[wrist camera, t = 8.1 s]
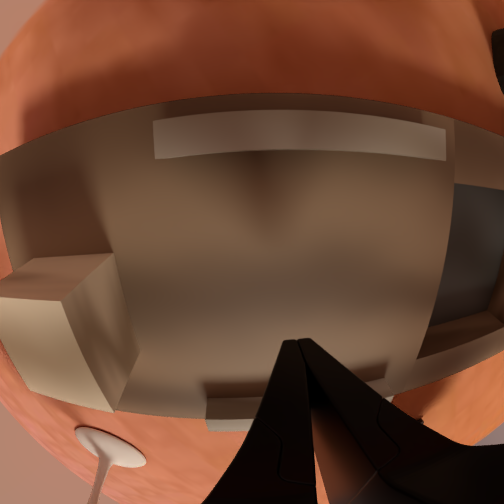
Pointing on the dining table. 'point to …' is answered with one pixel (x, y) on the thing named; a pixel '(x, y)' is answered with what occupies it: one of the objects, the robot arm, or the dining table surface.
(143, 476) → the dining table surface
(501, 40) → the sushi
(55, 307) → the block
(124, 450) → the wineglass
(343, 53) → the dining table surface
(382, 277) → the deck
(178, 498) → the dining table surface
